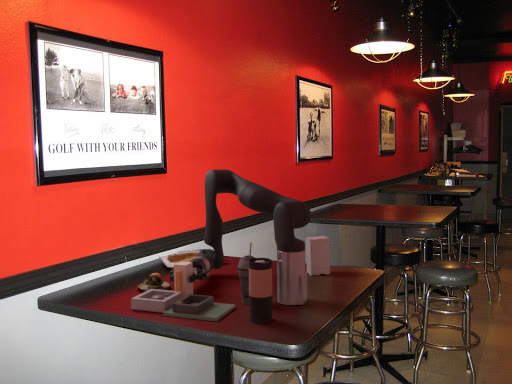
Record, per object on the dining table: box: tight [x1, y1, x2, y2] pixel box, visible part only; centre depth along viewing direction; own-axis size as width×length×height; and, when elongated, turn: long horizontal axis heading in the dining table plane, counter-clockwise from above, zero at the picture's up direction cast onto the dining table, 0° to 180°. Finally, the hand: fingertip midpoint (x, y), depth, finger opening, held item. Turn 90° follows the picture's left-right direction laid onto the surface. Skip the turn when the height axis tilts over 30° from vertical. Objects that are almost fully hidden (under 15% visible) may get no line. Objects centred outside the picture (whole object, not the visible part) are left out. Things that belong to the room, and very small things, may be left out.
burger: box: [136, 268, 172, 292], centre depth 194 cm, size 12×12×8 cm
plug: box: [173, 261, 194, 298], centre depth 181 cm, size 4×6×12 cm
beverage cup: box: [237, 242, 256, 305], centre depth 175 cm, size 7×7×20 cm
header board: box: [162, 293, 236, 322], centre depth 167 cm, size 18×14×4 cm
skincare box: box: [305, 235, 331, 277], centre depth 213 cm, size 8×6×15 cm
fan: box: [130, 289, 183, 314], centre depth 176 cm, size 16×18×4 cm
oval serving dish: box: [158, 248, 214, 270], centre depth 234 cm, size 32×4×23 cm
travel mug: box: [248, 257, 273, 325], centre depth 157 cm, size 7×7×18 cm
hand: (181, 279), depth 179 cm, fingers open, 6 cm apart
